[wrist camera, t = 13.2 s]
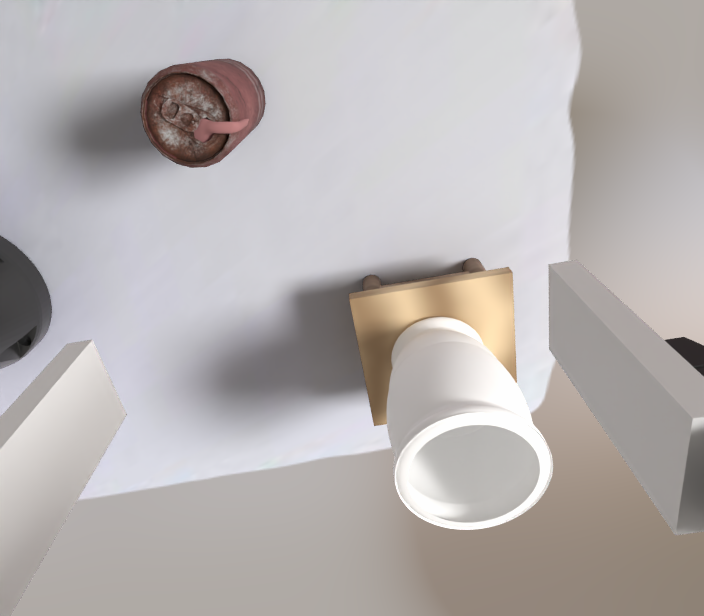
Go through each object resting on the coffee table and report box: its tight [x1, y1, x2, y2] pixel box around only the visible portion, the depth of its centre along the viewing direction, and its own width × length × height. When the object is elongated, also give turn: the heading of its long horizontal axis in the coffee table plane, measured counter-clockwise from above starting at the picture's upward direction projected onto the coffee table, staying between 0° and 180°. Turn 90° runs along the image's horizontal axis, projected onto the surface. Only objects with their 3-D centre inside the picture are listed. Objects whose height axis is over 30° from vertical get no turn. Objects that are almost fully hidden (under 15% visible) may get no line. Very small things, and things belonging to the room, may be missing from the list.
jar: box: [386, 317, 553, 530], centre depth 41 cm, size 11×10×15 cm
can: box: [140, 59, 265, 168], centre depth 38 cm, size 6×6×14 cm
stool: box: [349, 258, 517, 426], centre depth 51 cm, size 14×14×7 cm
